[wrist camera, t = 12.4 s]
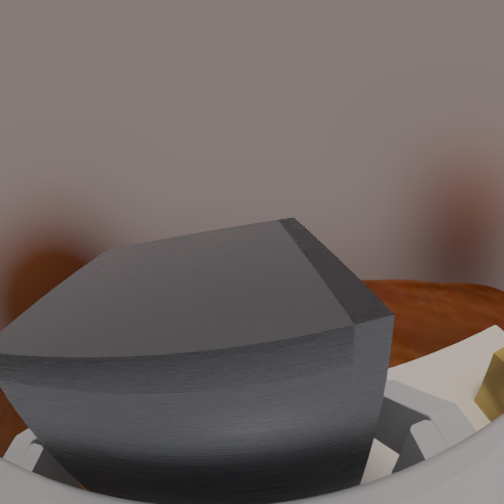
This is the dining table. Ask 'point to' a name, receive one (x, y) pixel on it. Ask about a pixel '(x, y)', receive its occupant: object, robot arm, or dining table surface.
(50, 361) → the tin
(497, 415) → the block
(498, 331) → the placemat
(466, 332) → the dining table surface
